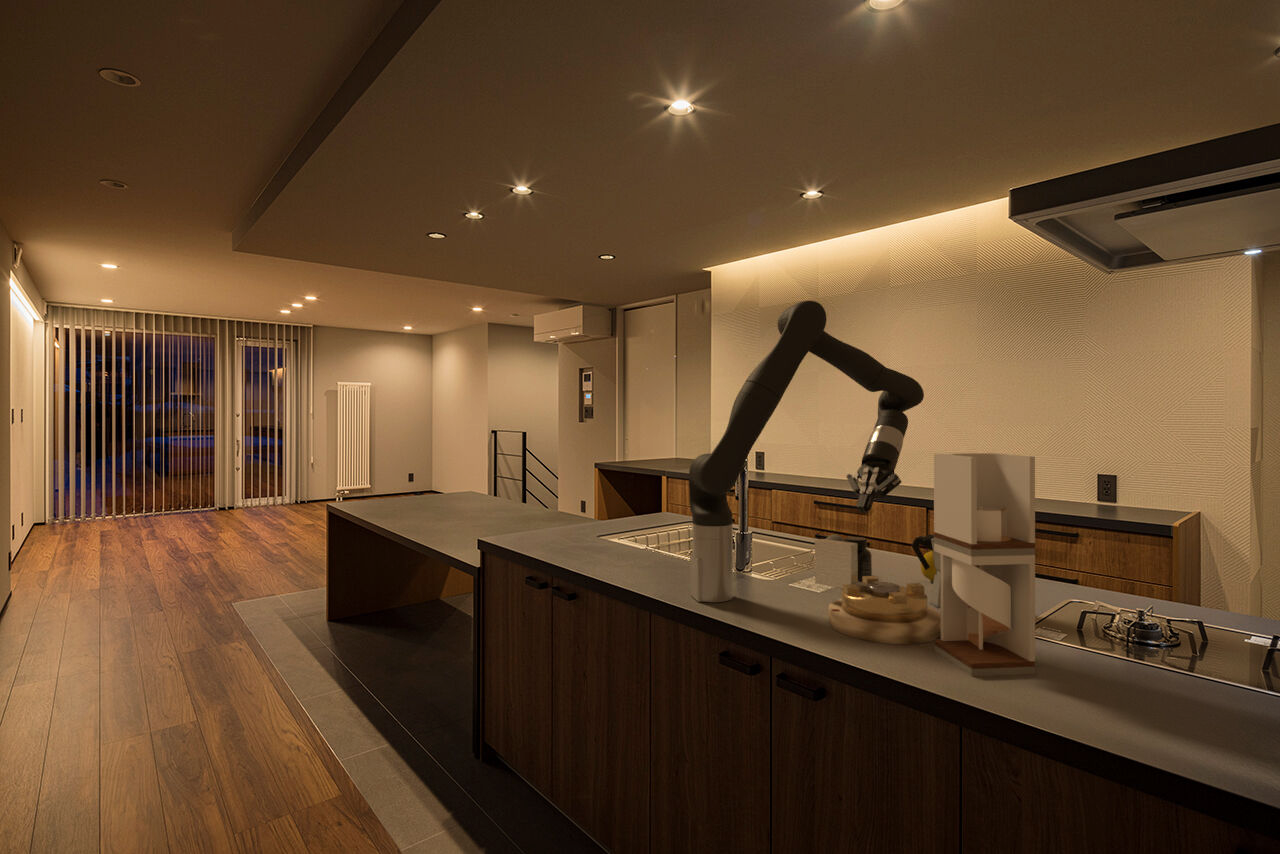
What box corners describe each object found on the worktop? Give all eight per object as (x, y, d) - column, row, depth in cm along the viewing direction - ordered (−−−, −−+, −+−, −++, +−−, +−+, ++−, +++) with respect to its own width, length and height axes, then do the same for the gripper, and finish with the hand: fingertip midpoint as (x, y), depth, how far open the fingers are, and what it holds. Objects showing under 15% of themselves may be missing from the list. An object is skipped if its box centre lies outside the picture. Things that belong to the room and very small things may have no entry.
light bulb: (847, 570, 177) (847, 533, 177) (844, 575, 172) (844, 537, 172) (825, 568, 180) (825, 532, 180) (821, 573, 175) (821, 535, 174)
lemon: (943, 580, 166) (943, 548, 166) (946, 585, 161) (945, 553, 161) (919, 578, 168) (919, 547, 168) (921, 583, 163) (921, 551, 162)
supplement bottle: (868, 584, 163) (867, 536, 163) (875, 591, 156) (875, 541, 156) (839, 583, 163) (839, 535, 163) (845, 590, 157) (845, 540, 157)
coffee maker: (989, 606, 143) (988, 524, 142) (976, 615, 136) (976, 529, 136) (919, 594, 153) (918, 517, 153) (904, 602, 146) (904, 522, 146)
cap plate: (865, 648, 117) (865, 630, 117) (810, 614, 138) (809, 599, 138) (966, 638, 122) (966, 621, 122) (898, 607, 143) (898, 592, 142)
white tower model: (934, 651, 116) (933, 453, 115) (991, 649, 117) (991, 452, 116) (971, 676, 105) (971, 457, 104) (1035, 673, 105) (1035, 456, 105)
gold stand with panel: (939, 608, 130) (939, 547, 130) (909, 627, 119) (909, 560, 119) (835, 589, 145) (835, 534, 145) (799, 605, 133) (799, 545, 133)
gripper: (850, 440, 156) (828, 500, 148) (904, 438, 146) (883, 501, 138) (864, 460, 160) (843, 519, 152) (917, 458, 150) (897, 521, 142)
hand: (862, 510), depth 145 cm, fingers closed
